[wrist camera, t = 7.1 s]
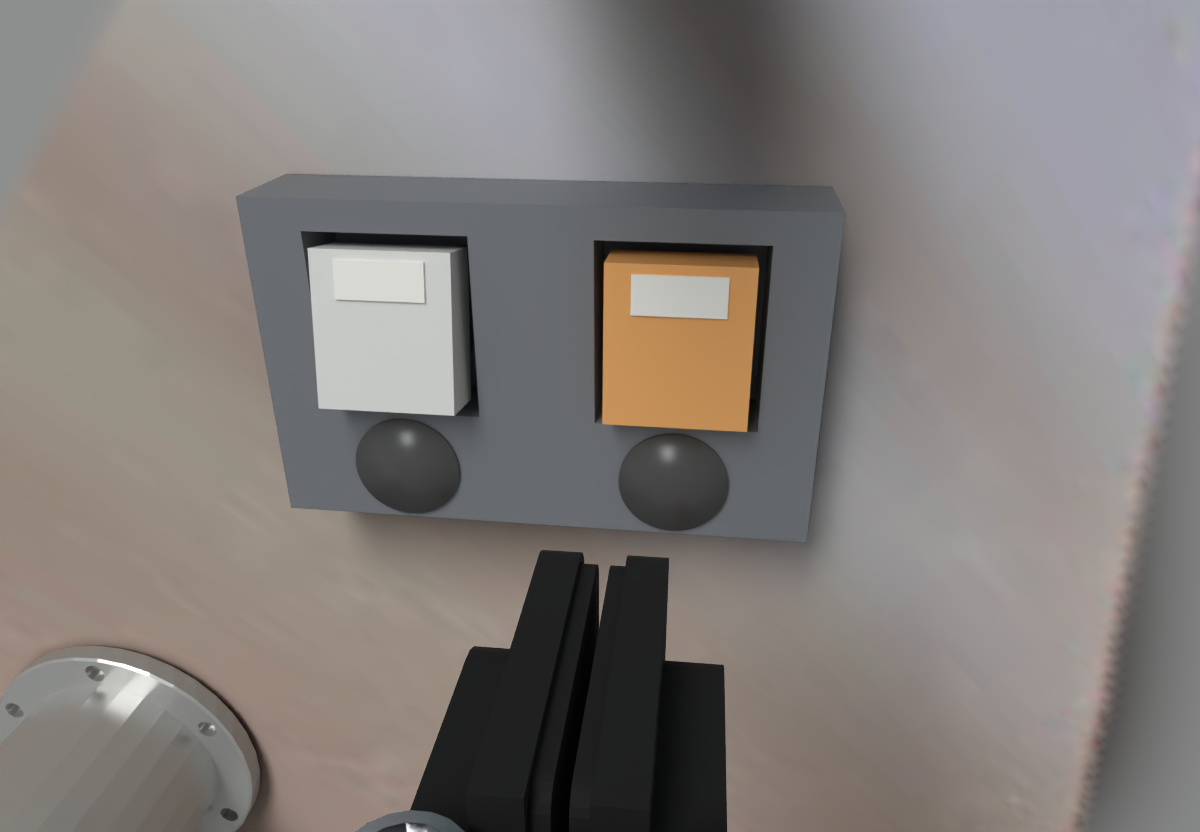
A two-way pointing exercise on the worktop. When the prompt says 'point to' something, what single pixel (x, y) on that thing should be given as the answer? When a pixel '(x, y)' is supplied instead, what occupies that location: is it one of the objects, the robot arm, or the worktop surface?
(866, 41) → the worktop surface
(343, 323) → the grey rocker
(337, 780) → the worktop surface
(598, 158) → the worktop surface
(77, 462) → the worktop surface
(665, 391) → the labelled cardboard parcel
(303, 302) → the grey switch box
